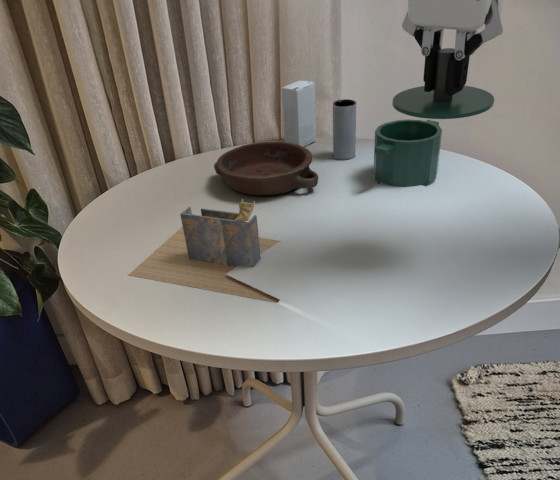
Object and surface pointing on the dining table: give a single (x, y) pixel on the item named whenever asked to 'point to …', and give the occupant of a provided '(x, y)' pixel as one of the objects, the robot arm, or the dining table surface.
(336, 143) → the grey cylinder
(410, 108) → the lid
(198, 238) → the ruin model on sheet
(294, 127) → the cosmetic box
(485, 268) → the dining table surface
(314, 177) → the dish
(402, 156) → the pot
